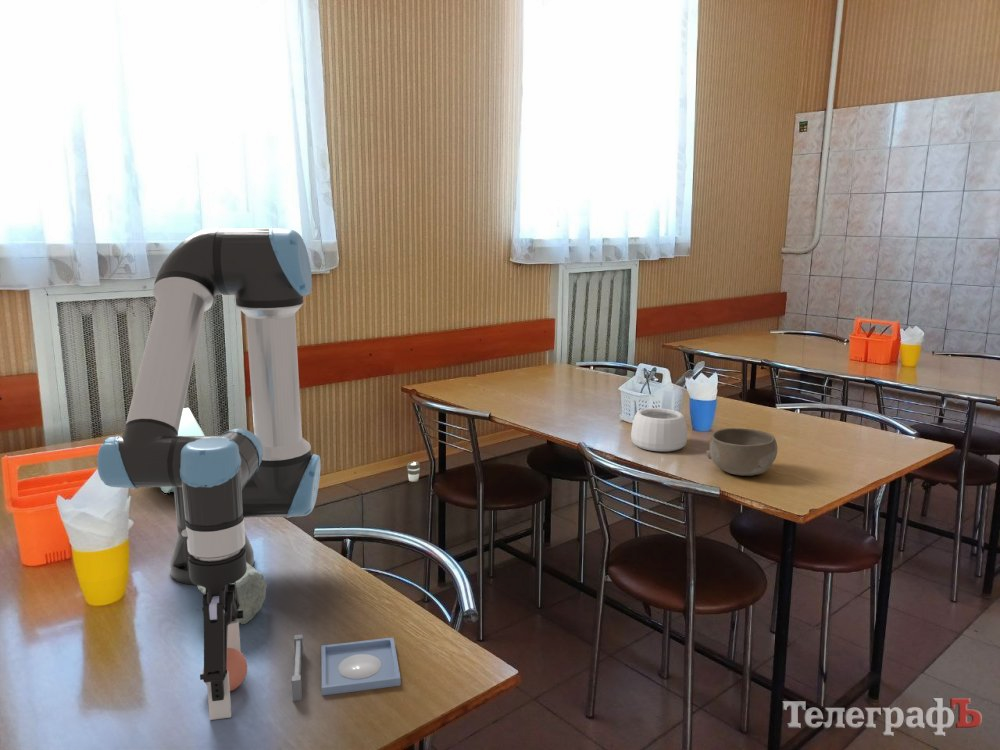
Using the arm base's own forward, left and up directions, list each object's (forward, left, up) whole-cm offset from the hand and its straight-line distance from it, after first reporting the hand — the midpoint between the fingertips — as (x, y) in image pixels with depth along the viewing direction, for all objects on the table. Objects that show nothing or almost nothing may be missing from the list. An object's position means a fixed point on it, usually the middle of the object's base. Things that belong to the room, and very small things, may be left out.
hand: (226, 687), depth 110 cm
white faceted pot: (-102, +113, 0) cm, 152 cm away
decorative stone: (-21, -1, 0) cm, 21 cm away
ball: (0, 0, 0) cm, 0 cm away
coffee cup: (-83, +37, -1) cm, 91 cm away
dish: (-1, +19, 0) cm, 19 cm away
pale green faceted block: (-87, -21, 0) cm, 90 cm away
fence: (-1, +10, 0) cm, 10 cm away
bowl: (-73, +125, 0) cm, 145 cm away
